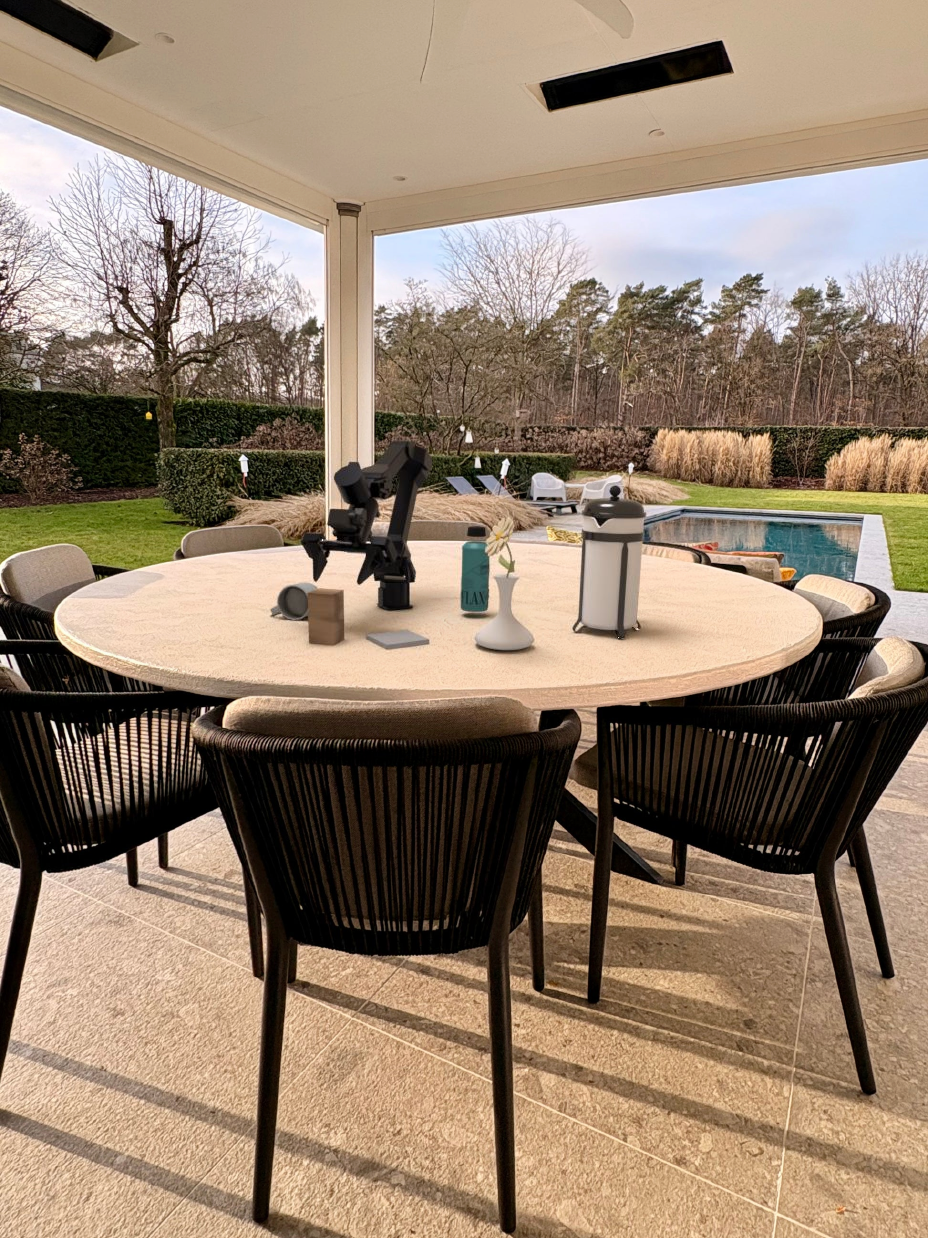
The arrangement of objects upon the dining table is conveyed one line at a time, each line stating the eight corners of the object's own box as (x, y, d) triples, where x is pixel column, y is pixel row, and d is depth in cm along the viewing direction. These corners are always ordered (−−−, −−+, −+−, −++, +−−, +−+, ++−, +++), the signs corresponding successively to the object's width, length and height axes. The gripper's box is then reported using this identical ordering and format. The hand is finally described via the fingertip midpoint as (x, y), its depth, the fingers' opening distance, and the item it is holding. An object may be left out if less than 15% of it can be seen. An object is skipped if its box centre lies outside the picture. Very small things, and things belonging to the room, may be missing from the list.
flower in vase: (474, 639, 154) (477, 511, 148) (532, 640, 153) (537, 513, 148) (473, 657, 141) (476, 518, 135) (536, 658, 141) (542, 519, 135)
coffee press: (659, 639, 157) (671, 487, 150) (583, 640, 154) (591, 487, 147) (628, 619, 173) (637, 483, 167) (558, 621, 171) (565, 482, 164)
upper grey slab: (407, 634, 156) (407, 629, 156) (429, 644, 148) (429, 639, 148) (366, 639, 151) (366, 634, 151) (386, 650, 144) (386, 644, 143)
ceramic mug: (324, 613, 174) (323, 579, 172) (310, 621, 166) (308, 585, 164) (280, 611, 176) (278, 578, 174) (264, 619, 168) (262, 584, 166)
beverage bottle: (455, 617, 173) (456, 526, 168) (466, 611, 179) (468, 524, 174) (482, 620, 170) (485, 528, 166) (493, 614, 176) (495, 525, 172)
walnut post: (320, 638, 152) (319, 588, 150) (344, 640, 151) (343, 590, 148) (308, 644, 147) (307, 592, 145) (333, 647, 146) (332, 594, 144)
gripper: (303, 491, 155) (277, 553, 147) (391, 494, 150) (369, 559, 142) (322, 527, 164) (298, 588, 156) (405, 532, 159) (385, 594, 151)
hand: (336, 582), depth 151 cm, fingers open, 9 cm apart
